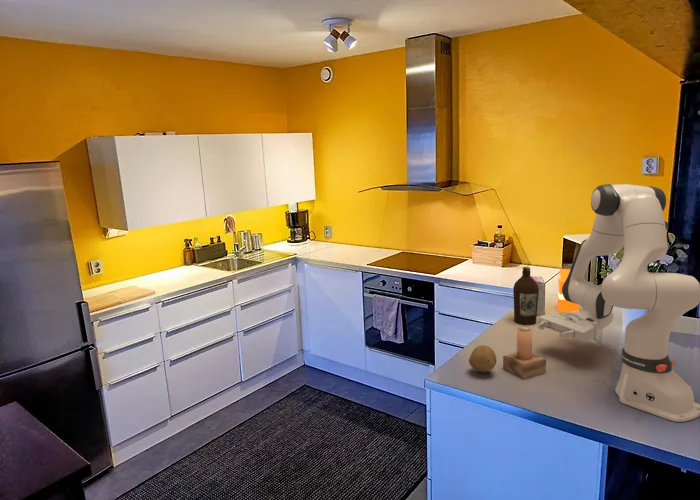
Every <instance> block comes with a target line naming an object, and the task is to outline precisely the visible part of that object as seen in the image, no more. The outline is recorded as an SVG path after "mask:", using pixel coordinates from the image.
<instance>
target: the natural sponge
mask: <svg viewBox="0 0 700 500" xmlns="http://www.w3.org/2000/svg"><path fill="white" fill-rule="evenodd" d="M468 363H469V366H470V367H471V368H473V369H475V370H476V371H478V372H479V373H482V374H485V373H487V372H489V371H491V370H493V369H494V368H495V366H496V365H497V355H496V353H495V351H494V350H493V349H492V347H490V346H488V345H484V344H479V345H478V346H476V347H475V348H474V349H473V350H472V351H471V353H470V356H469V359H468Z"/></svg>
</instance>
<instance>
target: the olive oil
mask: <svg viewBox="0 0 700 500" xmlns="http://www.w3.org/2000/svg"><path fill="white" fill-rule="evenodd" d="M521 273H522V274H521V277H520V278H518V279H517V280H516V281H515V283H514V284H513V288H512V289H513V290H512V291H513V321H514V323H516V324H517V325H521V326H532V325H535V324H536V323H537V317H538V316H537V304H538V293H539V288H538V285H537V283H536V282H535V281H534V280H533V279H532V278H531V276H532V275H531V267H529V266H523V267H522V271H521Z"/></svg>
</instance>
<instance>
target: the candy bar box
mask: <svg viewBox="0 0 700 500" xmlns="http://www.w3.org/2000/svg"><path fill="white" fill-rule="evenodd" d="M530 276H531V278H532V279H533V280H534V281H535V282H536V283H537V285H538V288H539V293H538V304H537V317H539V316H542V315H546V313H545V312H546V306H545V305H546V281H545V280H544V278H543V277H542V276H540V275H539V276H538V275H536V276H533V275H530Z"/></svg>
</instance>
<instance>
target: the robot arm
mask: <svg viewBox="0 0 700 500" xmlns="http://www.w3.org/2000/svg"><path fill="white" fill-rule="evenodd" d="M590 206H591V210H592V211H593V212H594V213H595V218H594V221H593V224H592V228H591V232H590V234H589V237H588V238H587V239H584V240H583V241H582V242H581V243H580V245H579V247H578V249H577V251H576V253H575V256H574V258H573V262H572V264H571V267H570V268H569V269H570V272H569V275H568V277H567V279H566V280H565V282H564V284H563V286H562V294H563V296H564V298H565V300H566V301H569V302H572V303H575V304H578V305H579V307H582V308H581V309H579V310H578V311H575V312H567V313H566V314H565V316H561V315H558V314H554V313H547V314H545V315H542V316H538V320H537V321H538V324H537V329H538V330H541V331H542V330H545V329H548V330H550V331H553V332H556V333H558V334H559V337H560V338H562V339H565V338H571V339H572V338H573V339H575V340H578V341H581V342H589V341H592V340H597V338H598V331H599V330H600V331H601V330H602V329H604V328H607V327H608V326H609V325H610V324H611V323H612V322H613V319H614V313H613V310H614V309H613V308H614V307H616V308H621V309H624V310H625V309H626V310H628V309H629V310H646V311H645V313H643V315H641V316H639V317H637V318H634V319H632V320H631V321H630V322H629V323H628V324H627V325H626V326H625V329H624V330H625V332H624V343H623V345H624V346H623V348H622V351H621V369H620V375H619V379H618V381H617V384H616V385H615V388H614V391H615V394H616V395H617V396H618V398H619V399H618V400H619V402H620V403H621V404H624V405H627V406H630V407H632V408H634V409H637V410H640V411H643V412H645V413H650V414H652V415H655V416H657V417H660V418H662V419H666V420H669V421H672V422H678V423H679V422H680V423H681V422H689V421H692V420H694V419H697V418H698V417H700V404H699V403H697V402H695V398H694V396H695V395H694V391H693V389H692V387H691V386H690V385H689V384H688V383H687V382H685V380H684V379H683V378H682V377H681V376H680V375H678V374H677V372H676V371H674V369H673V366H674V365H676V364H677V363H676V362H677V360H672V361H671V360H670V357H669V355H668V347H669V341H670V334H671V331H672V329H673V327H674V325H675V324H676V323H677V322H678V321H679V319H680V318H681V317H682V316H684V314H686V313H687V312H689V311H690V310H693V309H694V308H696V307H697V306H698V305H699V304H700V282H699V281H698V279H696V277H694V276H693V275H688V274H684V273H677V272H650V271H648V265H650V264H652V263H654V262H657V261H658V260H661V259H662V258H663V257H664V256H666V255H667V253H668V250H669V249H668V248H669V247H668V237H667V227H666V219H665V216H664V211H665V209H666V206H667V195H666V194H665V192H664V191H663V189H661V188H659V187H655V186H645V185H637V184H636V185H635V184H630V183H624V184H623V183H621V184H619V183H618V184H616V183H615V184H611V183H606V184H601V185H598V186H596V187H595V189H594V190H593V191H592V193H591V197H590ZM622 249H623V256H622V259H621V261H620V263H619V265H618V266H617V267H616V268H615V270H613V271H612V272H610V273H609V274H608V275H606V276H605V278H604V279H603V280H602V283H601V285H598V284H595V283H593V282H591V281H588V280H586V278H585V275H586V272H587V270H588V267H589V264H590V263H591V260H592V259H593V258H594V257H600V256H601V257H603V256H611V255H614V254H616V253H618V252H620V251H621V250H622Z"/></svg>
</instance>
